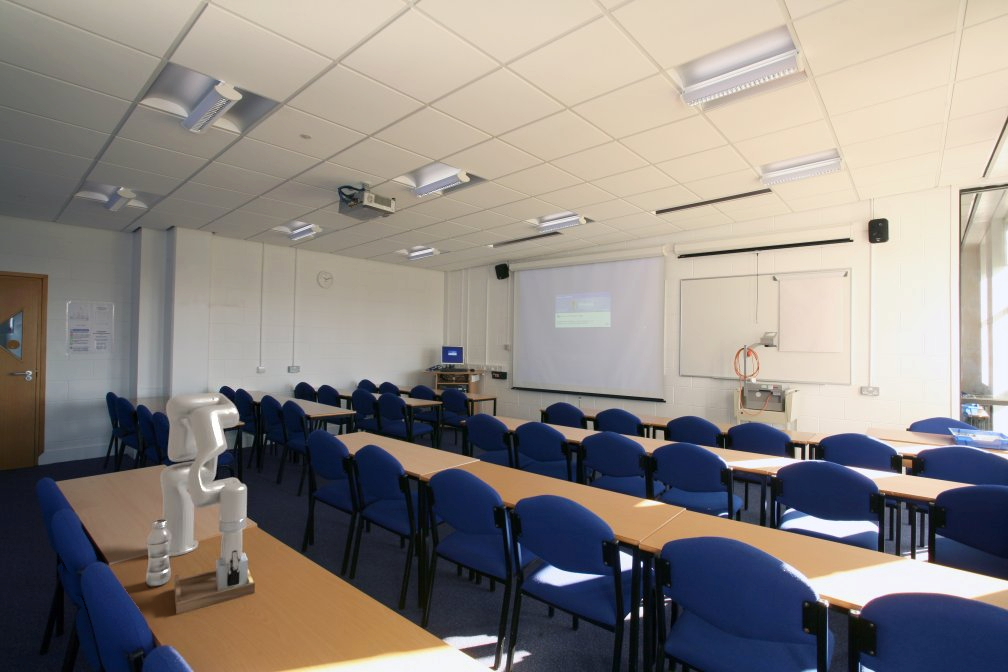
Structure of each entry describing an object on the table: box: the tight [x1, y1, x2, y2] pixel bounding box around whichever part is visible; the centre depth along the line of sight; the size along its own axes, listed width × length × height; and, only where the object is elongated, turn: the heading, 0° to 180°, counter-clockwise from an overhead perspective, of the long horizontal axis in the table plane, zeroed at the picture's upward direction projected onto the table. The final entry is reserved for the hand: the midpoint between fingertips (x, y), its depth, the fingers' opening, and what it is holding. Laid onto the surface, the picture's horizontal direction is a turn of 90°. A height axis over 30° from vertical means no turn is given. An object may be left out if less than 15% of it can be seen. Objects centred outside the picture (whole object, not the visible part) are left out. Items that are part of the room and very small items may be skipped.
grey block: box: [215, 552, 249, 591], centre depth 150 cm, size 6×8×8 cm
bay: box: [173, 568, 256, 616], centre depth 147 cm, size 16×20×5 cm
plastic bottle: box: [145, 518, 172, 587], centre depth 151 cm, size 6×7×20 cm
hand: (231, 579), depth 150 cm, fingers closed on grey block, 6 cm apart
